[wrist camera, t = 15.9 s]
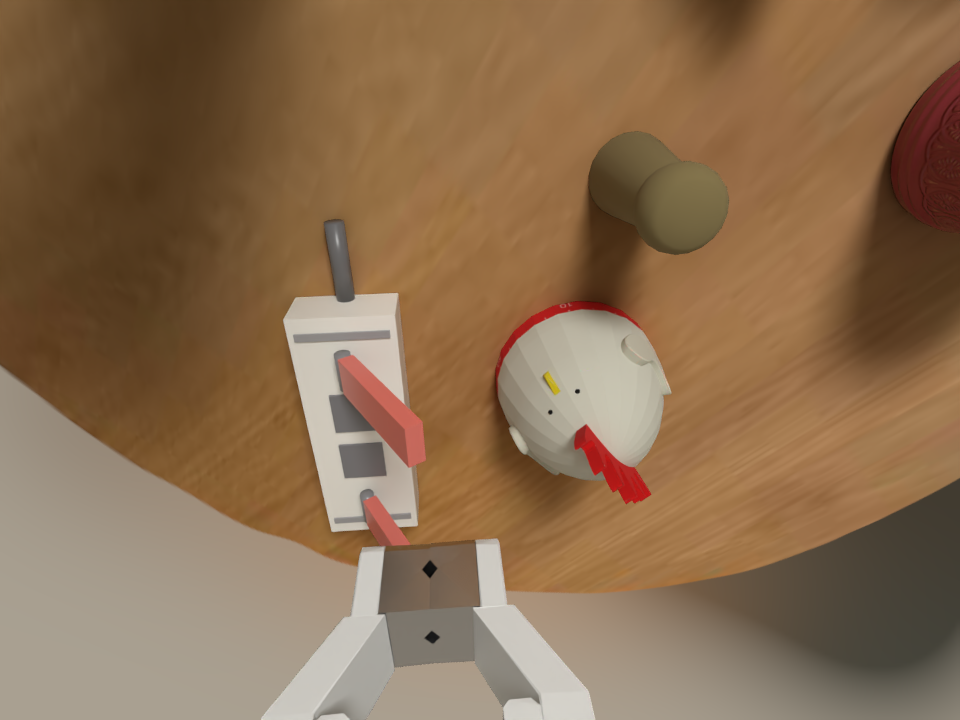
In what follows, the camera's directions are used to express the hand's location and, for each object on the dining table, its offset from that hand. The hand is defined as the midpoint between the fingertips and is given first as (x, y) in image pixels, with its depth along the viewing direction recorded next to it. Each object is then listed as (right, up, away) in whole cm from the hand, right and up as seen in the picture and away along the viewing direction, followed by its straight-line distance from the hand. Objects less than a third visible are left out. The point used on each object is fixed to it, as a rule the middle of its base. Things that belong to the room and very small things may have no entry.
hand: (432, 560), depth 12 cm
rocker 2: (-9, -8, +35) cm, 37 cm away
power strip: (-9, +3, +34) cm, 35 cm away
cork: (+12, +18, +27) cm, 35 cm away
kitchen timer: (+9, +3, +35) cm, 37 cm away
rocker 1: (-9, +4, +28) cm, 29 cm away
